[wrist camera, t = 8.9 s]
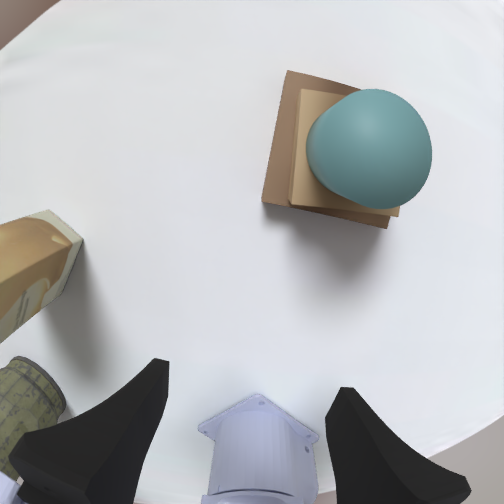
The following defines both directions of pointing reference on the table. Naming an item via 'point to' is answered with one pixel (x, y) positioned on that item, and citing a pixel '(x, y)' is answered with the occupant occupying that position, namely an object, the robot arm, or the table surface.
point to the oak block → (301, 177)
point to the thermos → (25, 405)
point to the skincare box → (33, 266)
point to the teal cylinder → (370, 149)
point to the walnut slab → (283, 146)
